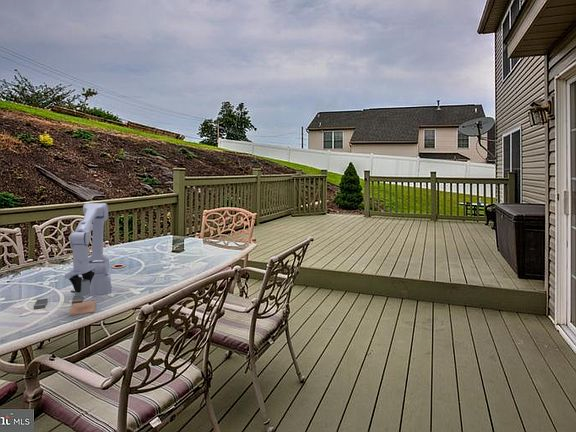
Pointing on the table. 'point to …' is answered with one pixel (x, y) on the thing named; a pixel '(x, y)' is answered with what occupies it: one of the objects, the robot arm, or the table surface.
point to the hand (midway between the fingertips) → (82, 290)
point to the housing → (43, 302)
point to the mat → (83, 308)
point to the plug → (83, 288)
